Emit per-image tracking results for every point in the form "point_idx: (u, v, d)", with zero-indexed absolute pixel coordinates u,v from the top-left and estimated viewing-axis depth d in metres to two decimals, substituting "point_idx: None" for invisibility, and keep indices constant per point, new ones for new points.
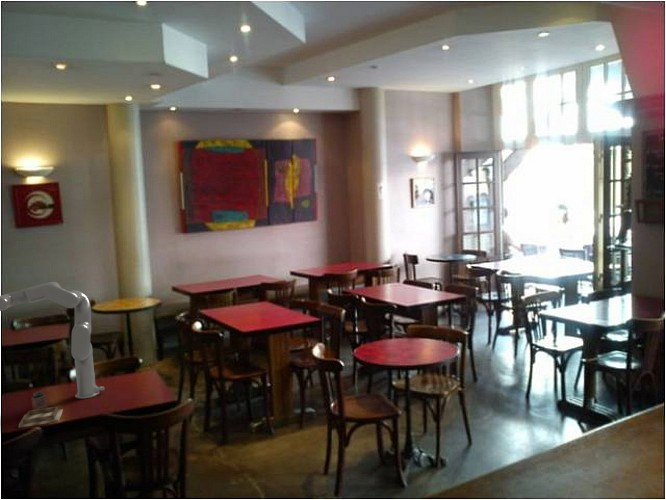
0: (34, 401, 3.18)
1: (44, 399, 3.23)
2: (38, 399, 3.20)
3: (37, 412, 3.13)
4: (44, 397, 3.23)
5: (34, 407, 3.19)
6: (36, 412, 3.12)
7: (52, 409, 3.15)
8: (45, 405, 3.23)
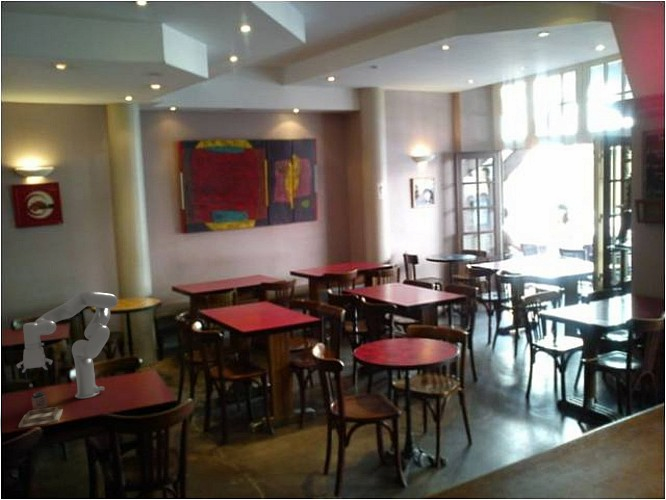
0: (34, 401, 3.18)
1: (44, 399, 3.23)
2: (38, 399, 3.20)
3: (37, 412, 3.13)
4: (44, 397, 3.23)
5: (34, 407, 3.19)
6: (36, 412, 3.12)
7: (52, 409, 3.15)
8: (45, 405, 3.23)
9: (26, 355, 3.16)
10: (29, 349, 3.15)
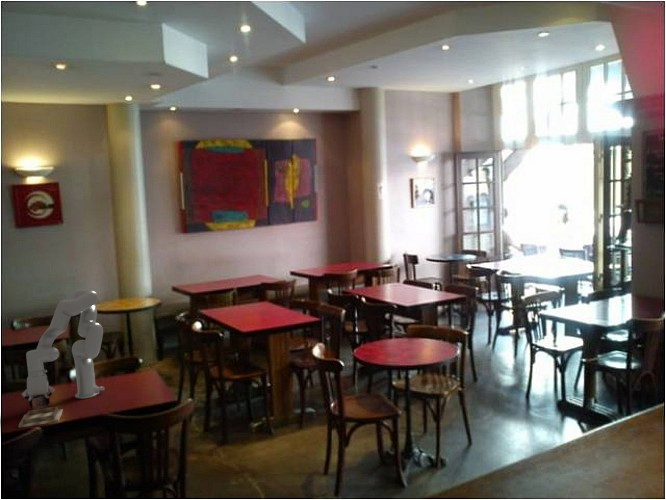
0: (34, 401, 3.18)
1: (44, 399, 3.23)
2: (38, 399, 3.20)
3: (37, 412, 3.13)
4: (44, 397, 3.23)
5: (34, 407, 3.19)
6: (36, 412, 3.12)
7: (52, 409, 3.15)
8: (45, 405, 3.23)
9: (30, 382, 3.18)
10: (32, 377, 3.17)
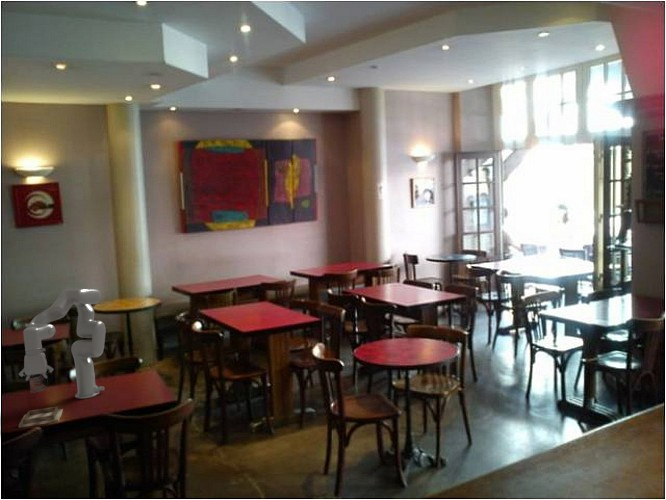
0: (32, 381, 3.03)
1: (42, 379, 3.07)
2: (36, 379, 3.04)
3: (37, 412, 3.13)
4: (42, 377, 3.07)
5: (32, 387, 3.03)
6: (36, 412, 3.12)
7: (52, 409, 3.15)
8: (43, 385, 3.08)
9: (27, 361, 3.02)
10: (30, 355, 3.01)
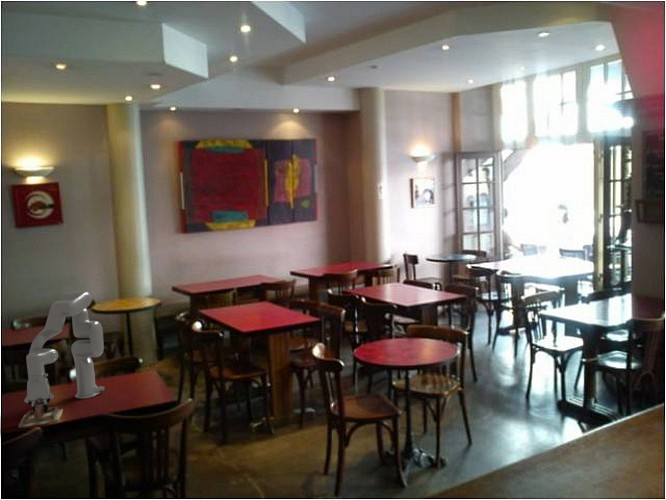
0: (39, 408, 3.03)
1: (43, 406, 3.08)
2: (41, 406, 3.05)
3: None
4: (43, 404, 3.08)
5: (37, 414, 3.02)
6: None
7: (52, 409, 3.15)
8: (42, 412, 3.08)
9: (30, 386, 3.03)
10: (33, 381, 3.02)
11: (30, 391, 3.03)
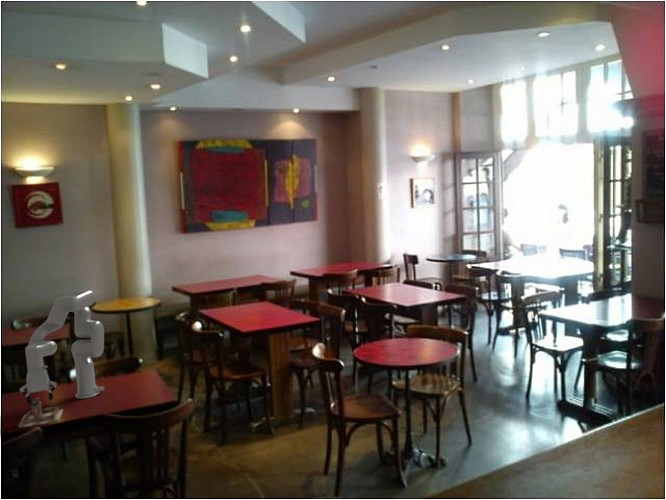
0: (36, 408, 3.02)
1: (40, 406, 3.08)
2: (38, 406, 3.04)
3: None
4: (40, 404, 3.08)
5: (36, 415, 3.02)
6: None
7: (52, 409, 3.15)
8: (41, 412, 3.08)
9: (30, 378, 3.03)
10: (32, 373, 3.02)
11: (29, 383, 3.03)
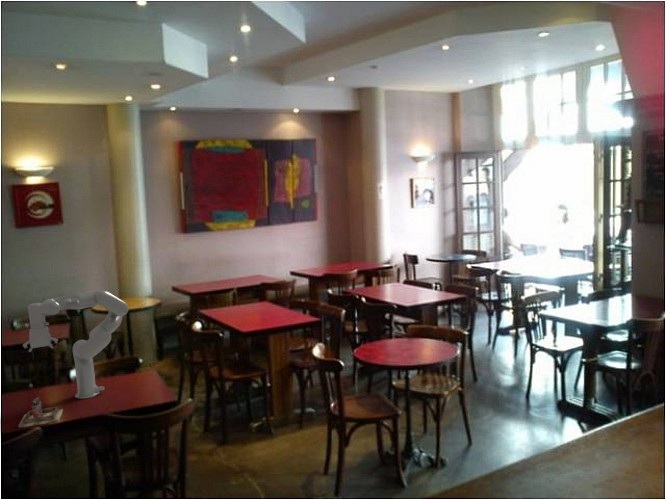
0: (36, 408, 3.02)
1: None
2: (38, 406, 3.04)
3: None
4: (40, 404, 3.08)
5: (36, 415, 3.02)
6: None
7: (52, 409, 3.15)
8: (41, 412, 3.08)
9: (32, 334, 3.23)
10: (35, 329, 3.23)
11: (32, 339, 3.24)
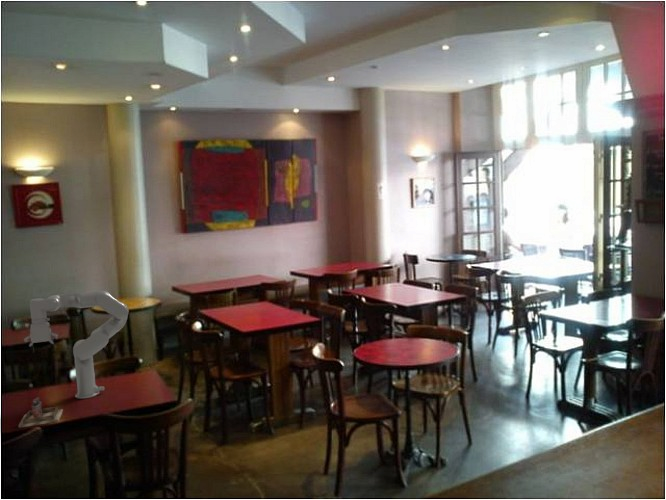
0: (36, 408, 3.02)
1: None
2: (38, 406, 3.04)
3: None
4: (40, 404, 3.08)
5: (36, 415, 3.02)
6: None
7: (52, 409, 3.15)
8: (41, 412, 3.08)
9: (33, 329, 3.28)
10: (36, 324, 3.27)
11: (33, 333, 3.28)
